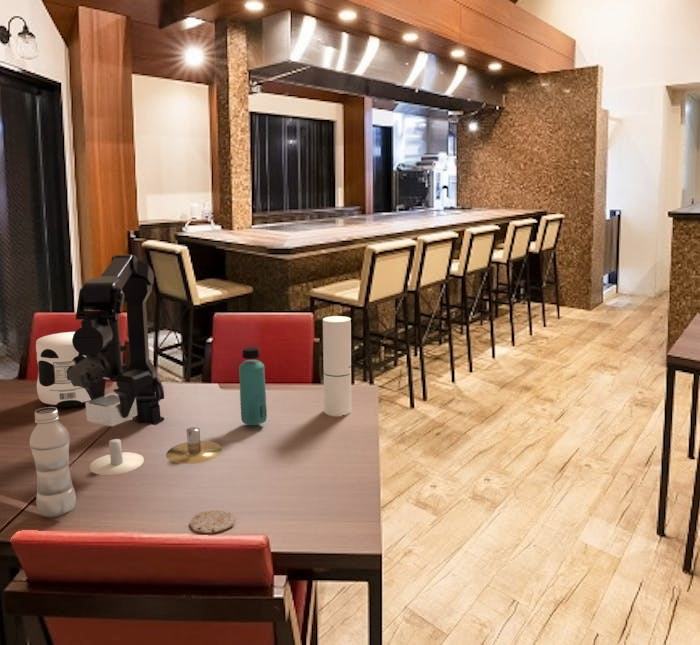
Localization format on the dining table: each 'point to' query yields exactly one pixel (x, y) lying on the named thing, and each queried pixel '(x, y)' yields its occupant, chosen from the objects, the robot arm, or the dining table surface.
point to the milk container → (58, 371)
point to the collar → (108, 410)
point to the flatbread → (212, 521)
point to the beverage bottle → (252, 388)
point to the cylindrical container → (337, 365)
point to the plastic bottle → (52, 464)
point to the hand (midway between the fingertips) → (112, 414)
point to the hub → (194, 449)
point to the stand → (116, 461)
